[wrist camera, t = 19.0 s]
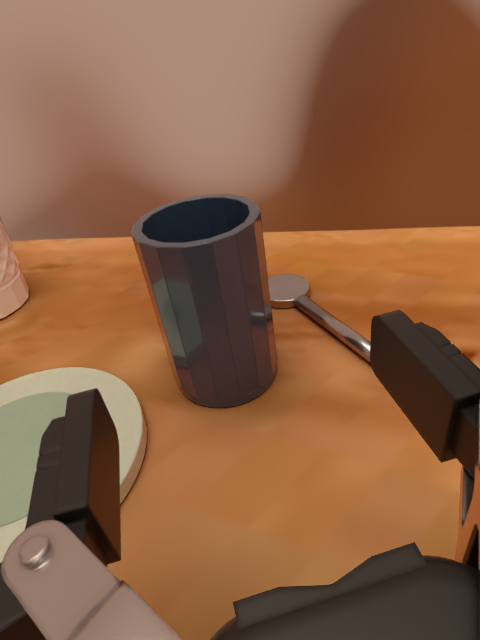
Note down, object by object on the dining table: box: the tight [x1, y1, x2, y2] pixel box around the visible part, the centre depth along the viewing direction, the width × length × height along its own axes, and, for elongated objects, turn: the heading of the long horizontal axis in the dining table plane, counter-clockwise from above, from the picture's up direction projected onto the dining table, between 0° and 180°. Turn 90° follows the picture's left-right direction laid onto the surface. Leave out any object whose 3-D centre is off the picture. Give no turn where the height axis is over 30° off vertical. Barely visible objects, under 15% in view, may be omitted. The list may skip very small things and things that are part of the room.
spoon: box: [268, 274, 371, 363], centre depth 28 cm, size 4×16×1 cm, turn 29°
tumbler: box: [131, 194, 277, 408], centre depth 24 cm, size 6×6×10 cm
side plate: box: [0, 367, 147, 563], centre depth 23 cm, size 13×13×1 cm
